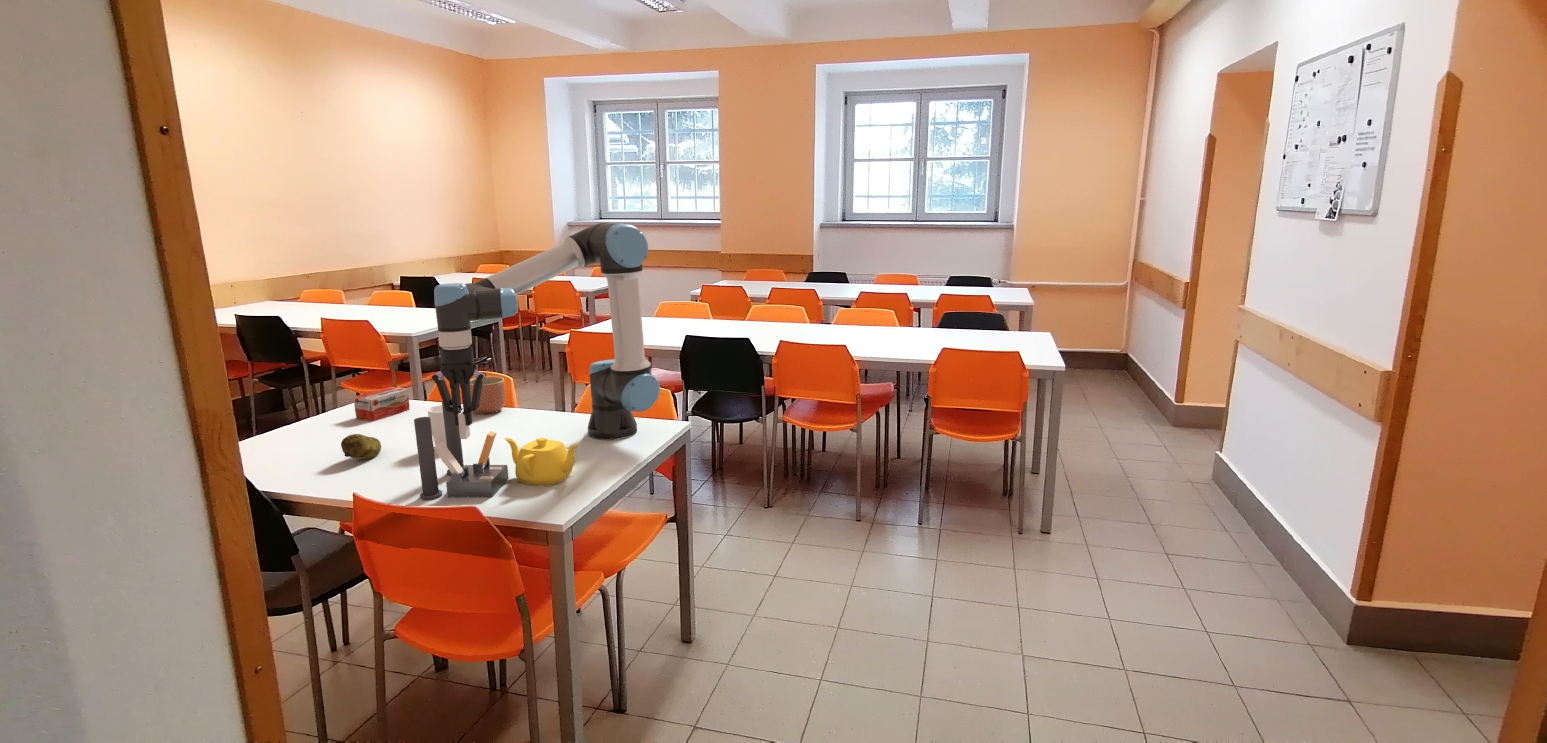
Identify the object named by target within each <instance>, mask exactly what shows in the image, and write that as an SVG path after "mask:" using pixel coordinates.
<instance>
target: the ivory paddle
mask: <svg viewBox="0 0 1547 743" xmlns="http://www.w3.org/2000/svg"><path fill="white" fill-rule="evenodd" d="M433 448H434V452H435V453H436V454H437V455H438V456H439V458H440V460H441V461H442V462H443V464H444V465H445V466H446V467H447V470H448V469H449V470H450V472H451V473H461V476H462V477H463V476H464V475H465V473H466V472H465V470H463V469H462V467H461V466H460V465H459V463H458V462H457V461H456V459H455V458H454V456H453V455H452V454H451V452H450V451H449V450H448V448H447V447H446V445H445V444H444V443H443V441H442V442H440V443H439V444H437V445H436V446H435V445H434V447H433Z"/></svg>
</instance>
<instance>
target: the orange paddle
mask: <svg viewBox="0 0 1547 743" xmlns="http://www.w3.org/2000/svg"><path fill="white" fill-rule="evenodd" d="M496 436H497V432H495V431H492V430H491V431H490V432H488V433H487V434H486V438H485V440H484V444H483V447H482V450H481V454H480V456H479V458H478V462H477V464H483V467H485V466H486V465H487V460H488V458H490V455H491V451H492V448H493V444H494V442H495V439H496Z"/></svg>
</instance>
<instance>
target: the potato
mask: <svg viewBox="0 0 1547 743" xmlns="http://www.w3.org/2000/svg"><path fill="white" fill-rule="evenodd" d="M340 447H341V450H342V452H343V454H344V457H345V458H353V459H362V460H363V459H364V460H365V459H366V460H368V459H373V458H375V457H376V456H378V455H379V454H380V453H381V449H382V444H381V441H380V439H378V438H376V437H371V436H366V435H364V434H360V433H353V434H349V435H347V436H345V437H344V438H343V439H342V440H341V443H340Z"/></svg>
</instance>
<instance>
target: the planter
mask: <svg viewBox="0 0 1547 743" xmlns="http://www.w3.org/2000/svg"><path fill="white" fill-rule="evenodd" d="M475 381H476V380H475V379H474V378H471V379H470V395H471V402H472V396H473V389H474V383H475ZM505 405H506V381H505V379H504V377H500V376H486V377H485V379H484V380H483V383H482V390H481V396H480V402H479V408H478V409H476V410H475V411H473V412H474V413H476V414H479V415H489V414H494V413H497V412H500V411H501V410H502V409H503V408H504V406H505Z"/></svg>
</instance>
